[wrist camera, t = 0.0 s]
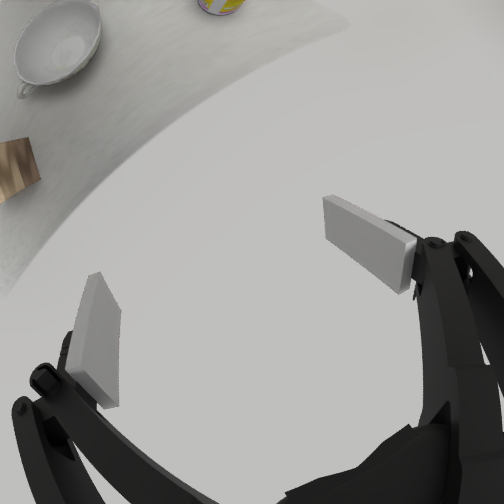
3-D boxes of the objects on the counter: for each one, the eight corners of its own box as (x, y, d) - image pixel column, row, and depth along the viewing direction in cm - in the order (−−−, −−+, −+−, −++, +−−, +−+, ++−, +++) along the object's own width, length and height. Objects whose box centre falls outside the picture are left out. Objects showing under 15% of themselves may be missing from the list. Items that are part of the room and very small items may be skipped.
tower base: (-3, 157, 26) (-22, 163, 21) (28, 137, 27) (11, 140, 22) (9, 196, 30) (-8, 208, 24) (40, 178, 31) (25, 187, 26)
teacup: (76, 4, 20) (63, -16, 13) (127, 38, 27) (122, 20, 20) (11, 82, 22) (-14, 77, 15) (59, 120, 28) (38, 120, 22)
